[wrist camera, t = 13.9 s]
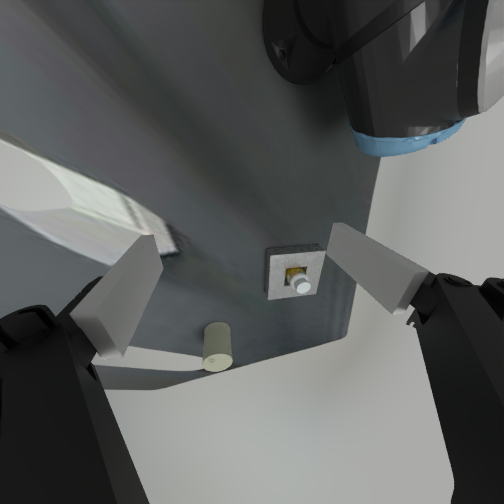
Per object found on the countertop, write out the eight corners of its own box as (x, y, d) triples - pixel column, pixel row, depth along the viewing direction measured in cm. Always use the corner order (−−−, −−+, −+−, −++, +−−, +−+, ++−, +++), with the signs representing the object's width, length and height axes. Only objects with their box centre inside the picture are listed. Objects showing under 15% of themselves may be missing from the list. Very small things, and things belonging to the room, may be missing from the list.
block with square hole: (266, 248, 51) (270, 255, 47) (318, 244, 53) (325, 250, 50) (264, 291, 59) (267, 299, 55) (310, 285, 61) (315, 293, 58)
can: (216, 318, 61) (216, 351, 50) (235, 328, 65) (239, 361, 55) (198, 332, 63) (195, 368, 53) (218, 341, 67) (218, 376, 57)
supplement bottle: (281, 275, 57) (292, 296, 48) (283, 261, 54) (295, 281, 46) (297, 274, 58) (310, 294, 49) (300, 260, 55) (314, 279, 47)
